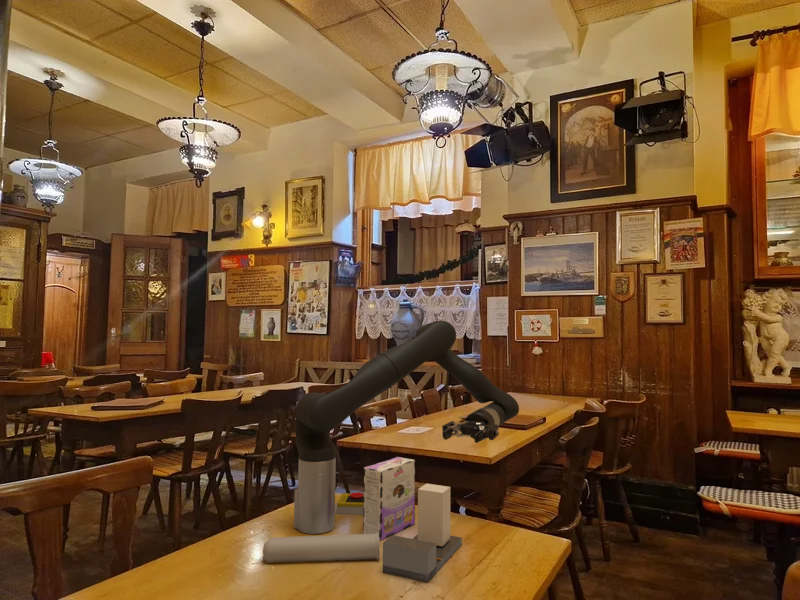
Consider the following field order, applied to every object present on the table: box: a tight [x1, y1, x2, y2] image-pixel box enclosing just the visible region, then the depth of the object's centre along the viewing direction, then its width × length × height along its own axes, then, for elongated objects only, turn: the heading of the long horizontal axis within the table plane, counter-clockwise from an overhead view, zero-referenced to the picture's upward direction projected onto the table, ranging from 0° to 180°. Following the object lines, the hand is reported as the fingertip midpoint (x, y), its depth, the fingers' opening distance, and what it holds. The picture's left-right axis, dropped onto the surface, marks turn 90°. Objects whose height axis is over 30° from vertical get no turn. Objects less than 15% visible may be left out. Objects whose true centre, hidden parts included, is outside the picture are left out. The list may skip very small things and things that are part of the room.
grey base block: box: [382, 533, 463, 583], centre depth 119 cm, size 10×21×6 cm, turn 155°
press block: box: [417, 483, 451, 547], centre depth 124 cm, size 6×5×12 cm
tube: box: [262, 532, 380, 563], centre depth 118 cm, size 5×5×25 cm
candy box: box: [362, 456, 416, 542], centre depth 135 cm, size 14×6×16 cm, turn 142°
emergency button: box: [335, 492, 364, 516], centre depth 150 cm, size 9×4×15 cm
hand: (459, 437), depth 138 cm, fingers open, 8 cm apart
